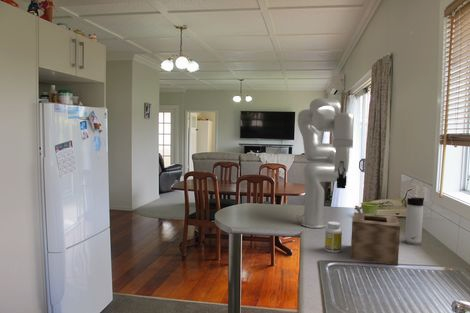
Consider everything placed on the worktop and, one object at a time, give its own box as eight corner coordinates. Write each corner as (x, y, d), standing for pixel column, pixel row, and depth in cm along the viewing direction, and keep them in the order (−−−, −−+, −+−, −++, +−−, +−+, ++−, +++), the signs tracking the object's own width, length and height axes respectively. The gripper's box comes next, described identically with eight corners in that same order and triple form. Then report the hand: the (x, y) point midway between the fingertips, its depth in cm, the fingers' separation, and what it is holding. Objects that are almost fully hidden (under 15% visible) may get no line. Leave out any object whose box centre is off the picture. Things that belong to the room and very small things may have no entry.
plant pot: (372, 222, 183) (373, 206, 183) (356, 218, 191) (357, 203, 190) (381, 220, 189) (382, 204, 189) (365, 216, 197) (366, 201, 196)
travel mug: (415, 246, 146) (418, 198, 144) (401, 241, 152) (404, 196, 150) (425, 244, 149) (427, 197, 147) (411, 239, 154) (413, 195, 153)
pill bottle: (341, 248, 140) (342, 221, 139) (340, 253, 134) (342, 225, 133) (325, 247, 142) (326, 220, 141) (324, 251, 136) (325, 223, 135)
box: (350, 258, 129) (352, 221, 128) (352, 245, 144) (354, 212, 143) (397, 265, 124) (400, 226, 123) (395, 251, 139) (397, 216, 138)
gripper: (334, 144, 148) (333, 184, 149) (331, 143, 132) (330, 188, 133) (353, 144, 146) (351, 185, 147) (352, 144, 130) (350, 189, 130)
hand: (341, 186), depth 140 cm, fingers open, 9 cm apart
